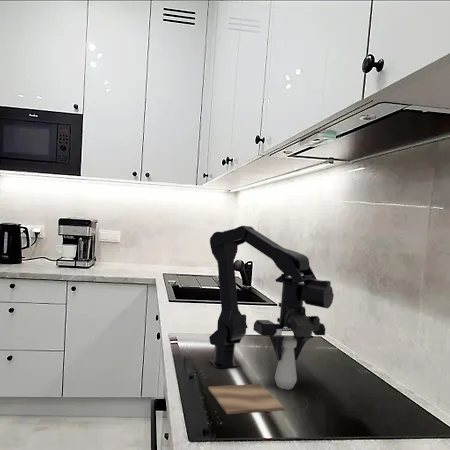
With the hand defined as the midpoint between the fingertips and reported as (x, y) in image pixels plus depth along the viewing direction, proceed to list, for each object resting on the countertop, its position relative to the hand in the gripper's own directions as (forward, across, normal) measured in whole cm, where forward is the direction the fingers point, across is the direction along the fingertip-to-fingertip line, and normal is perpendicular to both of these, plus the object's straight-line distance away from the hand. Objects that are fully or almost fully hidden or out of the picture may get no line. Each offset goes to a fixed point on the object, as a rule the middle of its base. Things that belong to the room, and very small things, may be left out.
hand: (287, 360), depth 111 cm
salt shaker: (+7, 0, 0) cm, 7 cm away
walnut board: (+7, -14, -6) cm, 17 cm away
